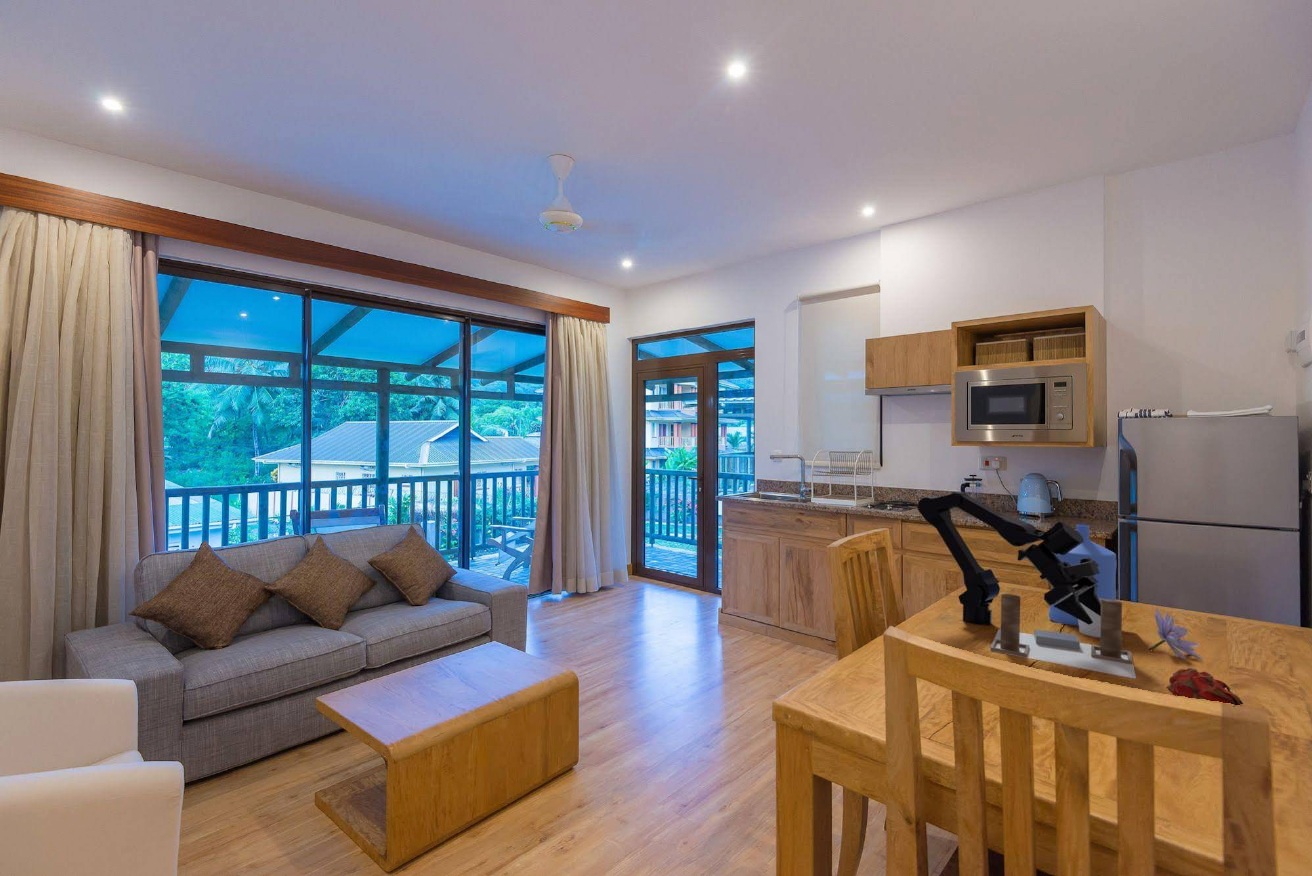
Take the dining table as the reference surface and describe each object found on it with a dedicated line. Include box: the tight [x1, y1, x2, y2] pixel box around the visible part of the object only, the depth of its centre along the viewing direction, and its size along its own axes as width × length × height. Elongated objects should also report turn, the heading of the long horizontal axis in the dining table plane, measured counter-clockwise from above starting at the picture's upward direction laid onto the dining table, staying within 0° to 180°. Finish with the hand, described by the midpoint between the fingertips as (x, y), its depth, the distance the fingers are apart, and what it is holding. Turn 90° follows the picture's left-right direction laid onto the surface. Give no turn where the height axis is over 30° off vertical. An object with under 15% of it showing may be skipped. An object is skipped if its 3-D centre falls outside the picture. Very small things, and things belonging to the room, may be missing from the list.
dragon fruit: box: [1166, 667, 1247, 706], centre depth 118 cm, size 8×8×12 cm
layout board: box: [989, 628, 1137, 680], centre depth 147 cm, size 28×20×2 cm
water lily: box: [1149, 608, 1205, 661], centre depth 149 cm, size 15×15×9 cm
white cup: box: [1078, 598, 1103, 638], centre depth 160 cm, size 8×8×10 cm
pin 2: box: [1099, 599, 1123, 658], centre depth 144 cm, size 4×4×13 cm
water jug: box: [1048, 524, 1118, 627], centre depth 172 cm, size 16×16×28 cm
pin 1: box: [1000, 593, 1021, 652], centre depth 148 cm, size 4×4×13 cm
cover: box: [1033, 628, 1081, 650], centre depth 152 cm, size 9×6×2 cm, turn 62°
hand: (1098, 620), depth 146 cm, fingers open, 9 cm apart
